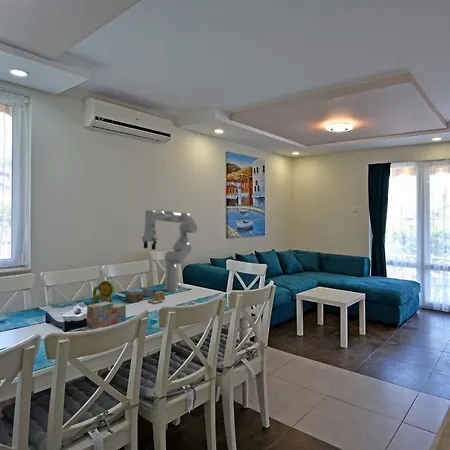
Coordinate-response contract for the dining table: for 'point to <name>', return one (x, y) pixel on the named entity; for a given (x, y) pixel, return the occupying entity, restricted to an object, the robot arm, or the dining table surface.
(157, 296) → the honey cube
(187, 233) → the robot arm
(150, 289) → the grey cube
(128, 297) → the walnut block
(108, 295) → the toy lion
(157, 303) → the mat
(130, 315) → the dining table surface
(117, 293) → the dining table surface
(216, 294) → the dining table surface
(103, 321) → the stack of blocks
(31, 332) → the dining table surface
